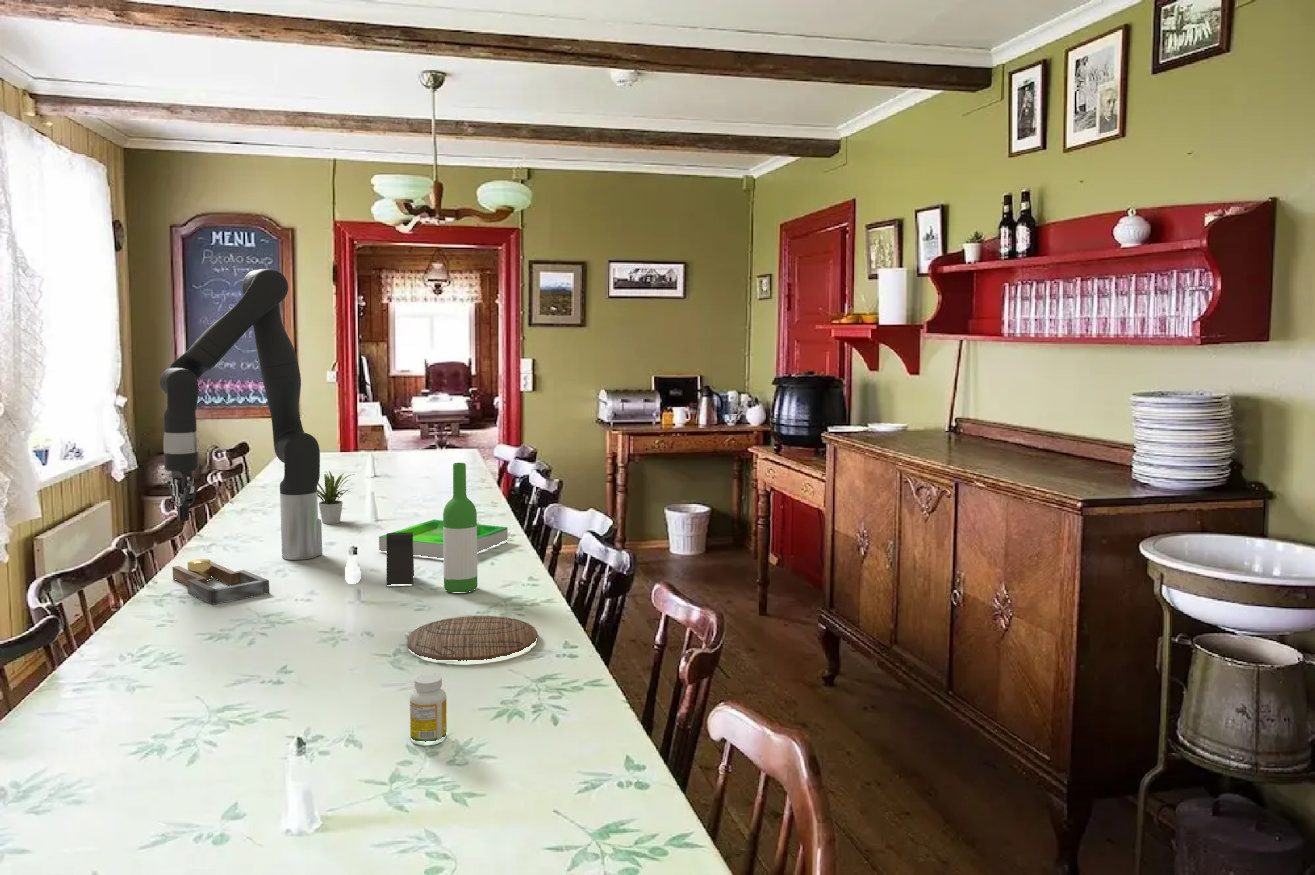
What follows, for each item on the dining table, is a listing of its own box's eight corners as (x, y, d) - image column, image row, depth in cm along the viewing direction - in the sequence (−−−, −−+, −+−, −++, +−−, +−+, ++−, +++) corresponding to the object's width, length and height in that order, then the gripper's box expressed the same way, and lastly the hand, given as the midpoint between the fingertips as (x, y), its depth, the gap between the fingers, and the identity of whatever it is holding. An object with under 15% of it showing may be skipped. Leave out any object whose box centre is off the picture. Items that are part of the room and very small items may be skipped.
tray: (379, 554, 259) (378, 536, 258) (433, 536, 282) (433, 519, 281) (457, 564, 250) (457, 545, 249) (507, 544, 273) (507, 527, 272)
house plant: (368, 521, 298) (367, 469, 296) (332, 529, 287) (330, 475, 285) (338, 515, 306) (336, 465, 304) (301, 523, 294) (299, 470, 292)
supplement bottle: (424, 750, 141) (423, 688, 139) (403, 740, 144) (401, 678, 143) (454, 739, 145) (453, 677, 144) (432, 729, 148) (431, 669, 147)
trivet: (540, 664, 178) (540, 654, 178) (401, 670, 174) (401, 660, 173) (535, 622, 202) (535, 613, 202) (413, 627, 198) (413, 618, 198)
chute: (218, 570, 238) (218, 559, 238) (269, 593, 219) (268, 580, 219) (163, 580, 229) (162, 568, 228) (211, 604, 210) (211, 591, 210)
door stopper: (412, 586, 227) (411, 537, 225) (386, 587, 225) (385, 537, 224) (414, 576, 235) (413, 528, 234) (389, 577, 234) (388, 529, 233)
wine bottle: (469, 596, 219) (468, 466, 216) (438, 593, 221) (436, 465, 217) (482, 587, 227) (481, 461, 223) (452, 584, 229) (450, 460, 225)
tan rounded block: (206, 576, 233) (205, 558, 233) (214, 580, 230) (214, 561, 230) (184, 579, 230) (184, 561, 229) (193, 584, 226) (192, 565, 226)
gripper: (208, 451, 230) (210, 522, 232) (186, 446, 239) (188, 514, 241) (175, 454, 224) (178, 527, 226) (154, 448, 233) (156, 518, 235)
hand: (183, 520), depth 234 cm, fingers closed
